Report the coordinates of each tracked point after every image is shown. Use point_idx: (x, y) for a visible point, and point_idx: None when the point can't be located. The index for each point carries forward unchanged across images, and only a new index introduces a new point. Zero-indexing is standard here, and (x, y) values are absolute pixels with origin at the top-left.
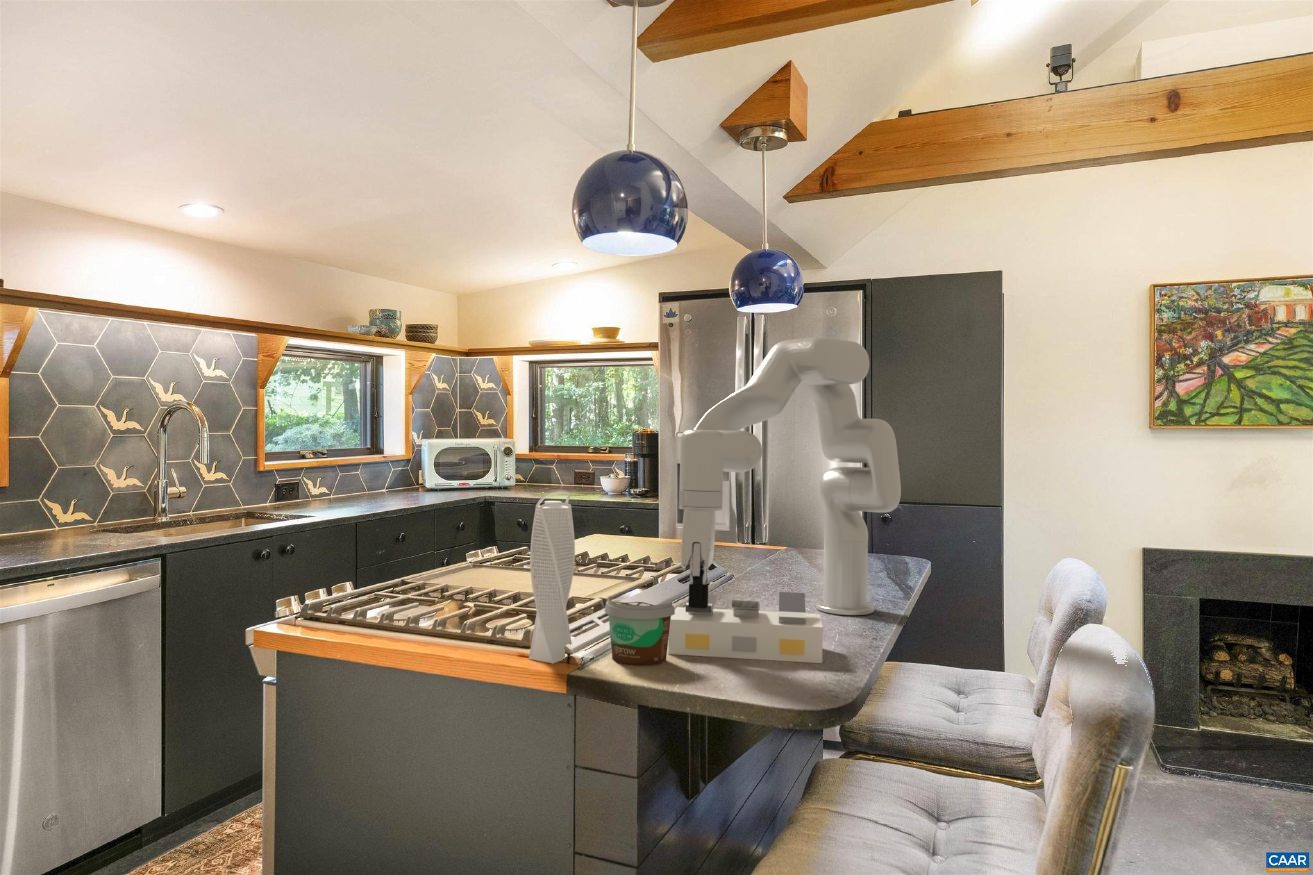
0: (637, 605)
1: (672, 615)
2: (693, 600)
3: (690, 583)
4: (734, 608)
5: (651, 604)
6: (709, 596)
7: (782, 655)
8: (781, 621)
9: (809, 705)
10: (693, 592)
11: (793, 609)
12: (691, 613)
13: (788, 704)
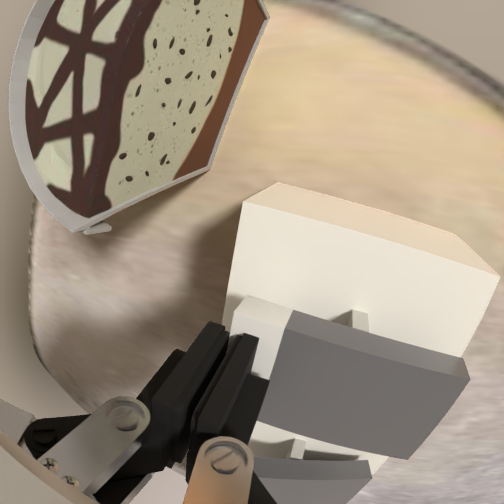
0: (87, 48)
1: (329, 228)
2: (173, 354)
3: (116, 400)
4: (321, 461)
5: (107, 113)
6: (387, 439)
7: None
8: None
9: (47, 358)
10: (151, 380)
11: None
12: (348, 323)
13: (41, 338)
